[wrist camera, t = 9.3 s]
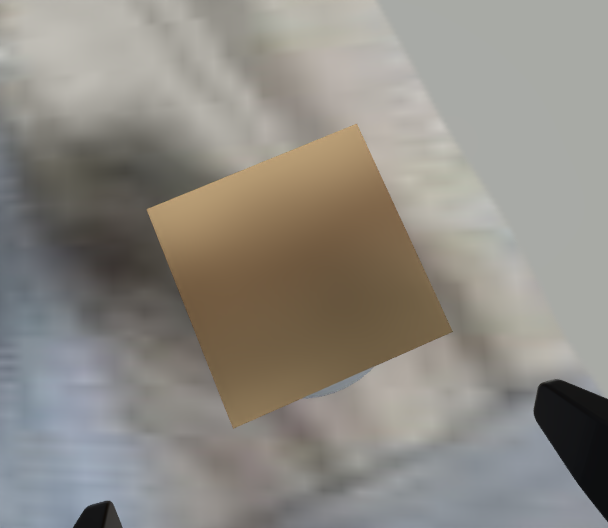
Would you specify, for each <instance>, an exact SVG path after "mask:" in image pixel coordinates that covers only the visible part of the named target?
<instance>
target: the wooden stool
mask: <svg viewBox="0 0 608 528" xmlns="http://www.w3.org/2000/svg"><path fill="white" fill-rule="evenodd" d="M147 212H148V214H149V217H150V219H151V222H152V224H153V227H154V229H155V232H156V234H157V237H158V240H159V242H160V245H161V247H162V250H163V252H164V255H165V257H166V260H167V262H168V265H169V267H170V270H171V272H172V275H173V278H174V280H175V283H176V285H177V288H178V290H179V293H180V295H181V298H182V300H183V303H184V305H185V308H186V310H187V313H188V315H189V318H190V321H191V323H192V326H193V328H194V331H195V333H196V336H197V338H198V341H199V343H200V346H201V348H202V351H203V353H204V356H205V359H206V361H207V364H208V366H209V369H210V371H211V374H212V376H213V379H214V381H215V384H216V386H217V389H218V391H219V394H220V396H221V399H222V402H223V404H224V407H225V409H226V412H227V414H228V417H229V419H230V422H231V424H232V427H233V429H234V428H236V427H238V426H240V425H243V424H245V423H247V422H249V421H252V420H254V419H256V418H258V417H261V416H263V415H265V414H268V413H270V412H272V411H274V410H277V409H279V408H281V407H283V406H286V405H288V404H290V403H292V402H295V401H297V400H299V399H302V398H304V397H306V396H308V395H311V394H313V393H315V392H317V391H320V390H322V389H324V388H326V387H329V386H331V385H333V384H335V383H338V382H340V381H342V380H345V379H347V378H349V377H351V376H354V375H356V374H358V373H360V372H363V371H365V370H367V369H369V368H372V367H374V366H376V365H379V364H381V363H383V362H385V361H388V360H390V359H392V358H394V357H397V356H399V355H401V354H403V353H406V352H408V351H410V350H413V349H415V348H417V347H419V346H422V345H424V344H426V343H428V342H431V341H433V340H435V339H437V338H440V337H442V336H444V335H447V334H449V333H451V332H453V331H452V329H451V327H450V325H449V323H448V320H447V318H446V316H445V314H444V312H443V310H442V307H441V305H440V303H439V301H438V299H437V297H436V294H435V292H434V290H433V288H432V286H431V284H430V281H429V279H428V277H427V275H426V273H425V271H424V268H423V266H422V264H421V262H420V260H419V258H418V255H417V253H416V251H415V249H414V247H413V244H412V242H411V240H410V238H409V236H408V234H407V231H406V229H405V227H404V225H403V223H402V221H401V218H400V216H399V214H398V212H397V210H396V208H395V205H394V203H393V201H392V199H391V197H390V195H389V192H388V190H387V188H386V186H385V184H384V182H383V179H382V177H381V175H380V173H379V171H378V169H377V166H376V164H375V162H374V160H373V158H372V156H371V153H370V151H369V149H368V147H367V145H366V143H365V140H364V138H363V136H362V134H361V132H360V130H359V127H358V125H357V124H355V125H352V126H350V127H348V128H345V129H343V130H340V131H338V132H335V133H333V134H330V135H328V136H325V137H323V138H321V139H318V140H316V141H313V142H311V143H308V144H306V145H303V146H301V147H298V148H296V149H293V150H291V151H289V152H286V153H284V154H281V155H279V156H276V157H274V158H271V159H269V160H266V161H264V162H262V163H259V164H257V165H254V166H252V167H249V168H247V169H244V170H242V171H239V172H237V173H234V174H232V175H230V176H227V177H225V178H222V179H220V180H217V181H215V182H212V183H210V184H207V185H205V186H203V187H200V188H198V189H195V190H193V191H190V192H188V193H185V194H183V195H180V196H178V197H175V198H173V199H171V200H168V201H166V202H163V203H161V204H158V205H156V206H153V207H151V208H148V209H147Z"/></svg>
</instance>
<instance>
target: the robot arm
mask: <svg viewBox="0 0 608 528" xmlns="http://www.w3.org/2000/svg"><path fill="white" fill-rule="evenodd" d="M534 416H535V419H536V421H537V423H538V425H539V426H540V428H541V429H542V431H543V432H544V434H545V435H546V437H547V438H548V440H549V441H550V443H551V444H552V446H553V447H554V449H555V450H556V452H557V453H558V455H559V456H560V458H561V459H562V461H563V462H564V464H565V465H566V467H567V469H568V470H569V472H570V473H571V475H572V476H573V477H574V479H575V480H576V482H577V483H578V485H579V486H580V487H581V489H582V490H583V491H584V493H585V494H586V495H587V496H588V498H589V499H590V500H591V502H592V503H593V504H594V505H595V507H596V508H597V509H598V510H599V512H600V513H601V514H602V515H603V517H604V518H605V519H606V520H607V522H608V399H607V398H604V397H602V396H599V395H597V394H594V393H592V392H589V391H587V390H585V389H582V388H580V387H577V386H575V385H572V384H570V383H567V382H565V381H562V380H559V379H554V380H550V381H546V382H543V383H541V384H540V385H539V386H538V390H537V395H536V400H535V405H534ZM73 528H123V527H122V525H121V522H120V520H119V517H118V515H117V512H116V510H115V507H114V505H113V503H112V502H111V501H103V502H100V503H96V504H92V505H90V506H88V507H86V508H85V509H84V511H83V512H82V514H81V516H80V517H79V519H78V520H77V522H76V524H75V525H74V527H73Z"/></svg>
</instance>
